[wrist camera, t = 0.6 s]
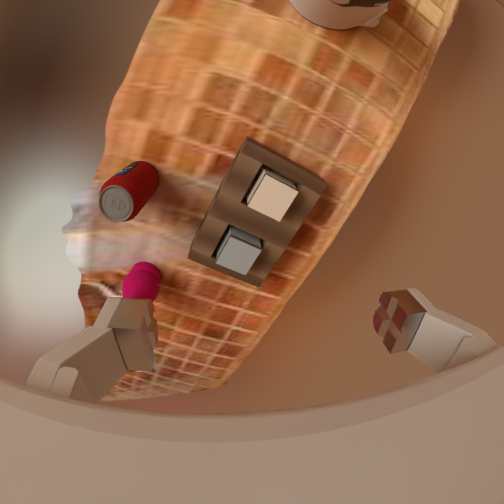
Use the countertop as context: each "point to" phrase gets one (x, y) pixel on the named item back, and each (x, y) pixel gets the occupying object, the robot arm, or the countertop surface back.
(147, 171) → the beverage can
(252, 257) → the slate key
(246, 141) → the frame
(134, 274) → the pepper mill
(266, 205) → the cream key
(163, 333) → the countertop surface
